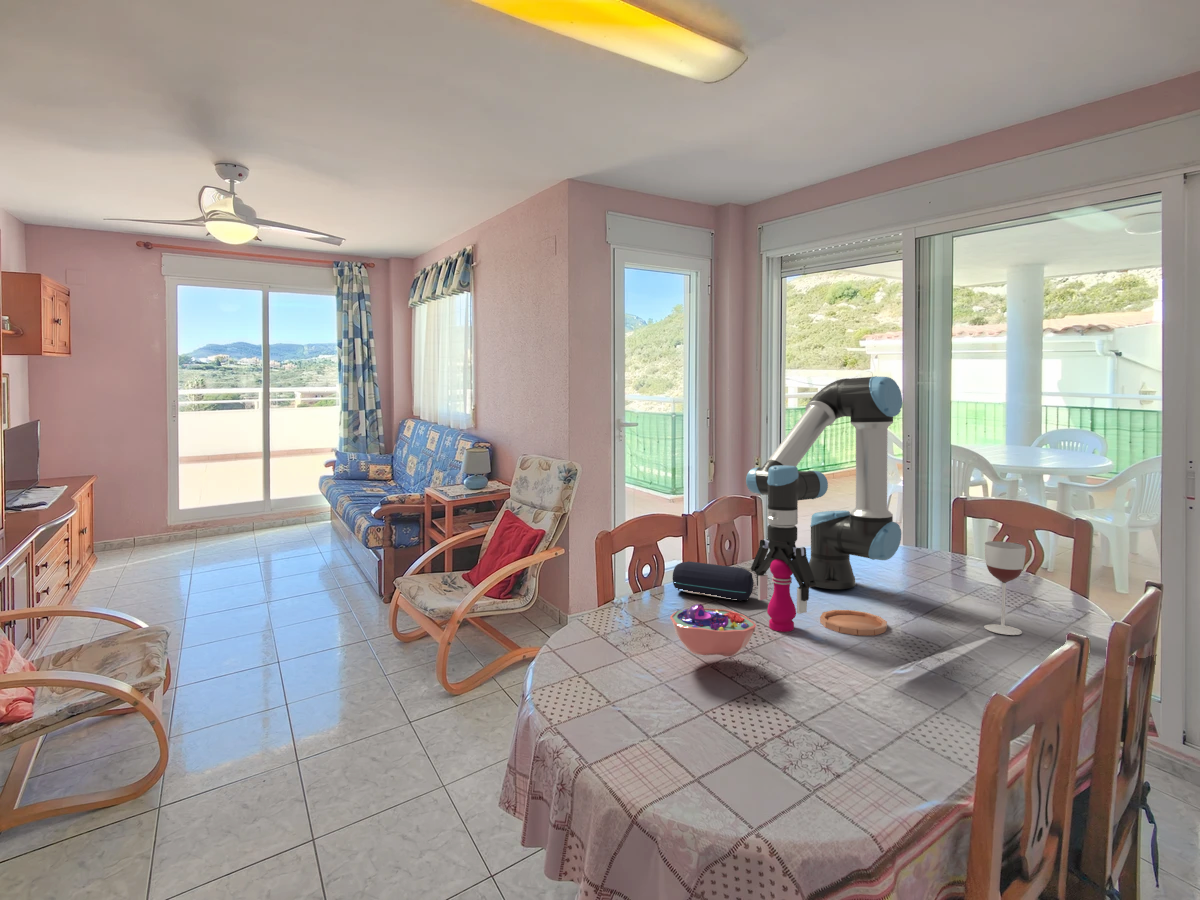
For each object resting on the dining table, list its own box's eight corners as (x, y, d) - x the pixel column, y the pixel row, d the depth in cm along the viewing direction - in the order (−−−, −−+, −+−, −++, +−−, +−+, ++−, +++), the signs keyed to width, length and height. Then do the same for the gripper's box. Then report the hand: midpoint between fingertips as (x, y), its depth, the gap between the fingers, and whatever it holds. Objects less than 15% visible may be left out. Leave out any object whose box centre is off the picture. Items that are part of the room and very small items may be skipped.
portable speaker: (758, 598, 188) (758, 566, 188) (747, 607, 180) (747, 573, 179) (682, 587, 202) (682, 557, 201) (669, 594, 193) (669, 563, 193)
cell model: (740, 675, 132) (741, 623, 131) (657, 657, 143) (657, 608, 142) (765, 650, 146) (765, 603, 146) (687, 635, 157) (687, 591, 156)
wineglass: (1016, 625, 163) (1019, 542, 161) (1028, 637, 153) (1031, 549, 152) (978, 621, 165) (980, 540, 164) (988, 633, 156) (990, 547, 155)
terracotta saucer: (808, 621, 167) (808, 615, 167) (847, 611, 175) (847, 606, 174) (859, 639, 153) (859, 633, 153) (899, 628, 161) (899, 622, 161)
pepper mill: (797, 633, 157) (798, 555, 156) (768, 631, 159) (768, 554, 158) (794, 624, 164) (795, 550, 163) (766, 622, 166) (766, 549, 165)
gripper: (738, 519, 169) (737, 596, 170) (810, 534, 148) (809, 621, 149) (758, 517, 173) (757, 592, 174) (831, 531, 151) (830, 616, 152)
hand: (781, 605), depth 161 cm, fingers open, 13 cm apart
